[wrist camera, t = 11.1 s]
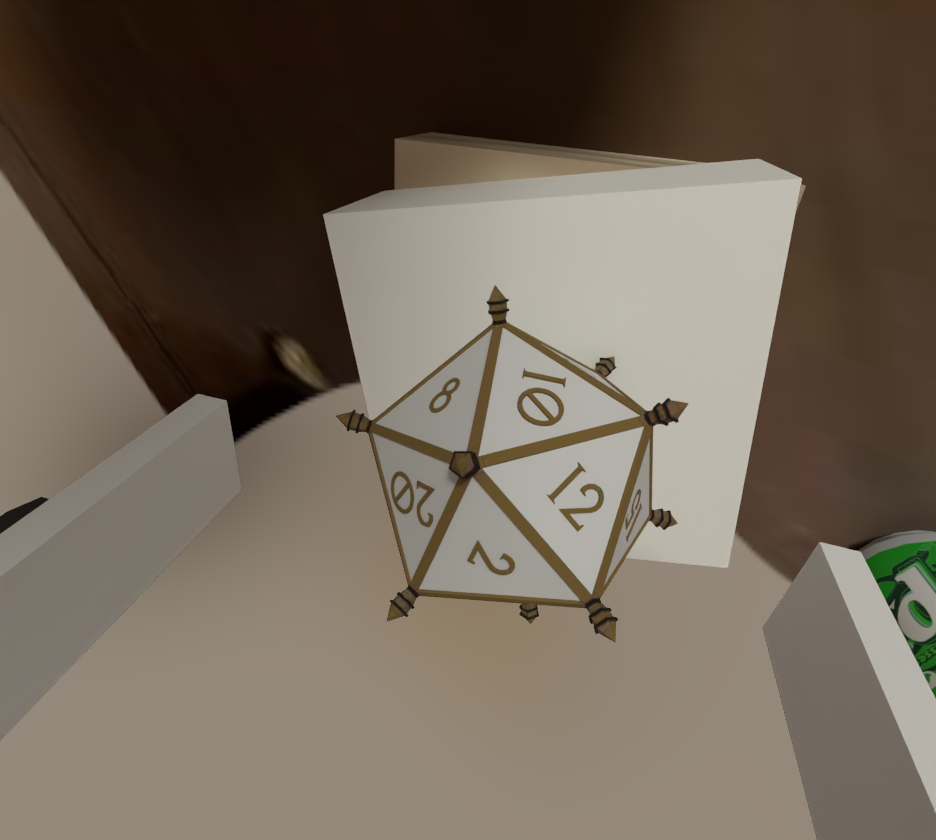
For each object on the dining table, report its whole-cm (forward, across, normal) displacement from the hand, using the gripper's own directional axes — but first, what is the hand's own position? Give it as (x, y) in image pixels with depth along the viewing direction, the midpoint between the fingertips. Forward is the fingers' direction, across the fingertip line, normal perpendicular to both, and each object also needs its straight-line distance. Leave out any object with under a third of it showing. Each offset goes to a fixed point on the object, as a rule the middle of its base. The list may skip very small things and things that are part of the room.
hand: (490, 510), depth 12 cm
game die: (+7, 0, -1) cm, 7 cm away
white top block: (+12, 0, -1) cm, 12 cm away
